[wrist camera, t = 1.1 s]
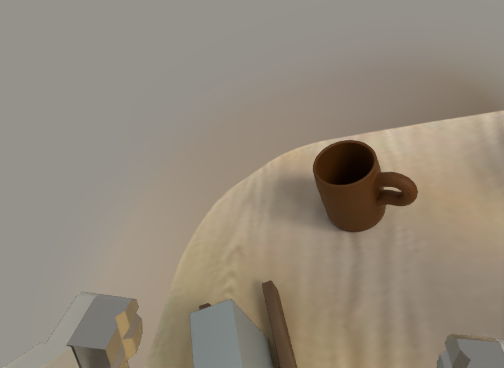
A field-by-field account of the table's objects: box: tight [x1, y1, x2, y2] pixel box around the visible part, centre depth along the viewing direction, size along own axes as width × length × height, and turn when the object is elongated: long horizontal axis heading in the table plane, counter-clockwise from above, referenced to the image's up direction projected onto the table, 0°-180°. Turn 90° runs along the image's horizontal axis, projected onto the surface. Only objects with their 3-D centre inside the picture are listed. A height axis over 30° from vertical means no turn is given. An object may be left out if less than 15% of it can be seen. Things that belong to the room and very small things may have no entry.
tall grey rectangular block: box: [190, 299, 274, 368], centre depth 40 cm, size 4×7×11 cm, turn 11°
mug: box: [313, 140, 418, 232], centre depth 48 cm, size 12×8×9 cm, turn 55°
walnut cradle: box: [199, 281, 297, 368], centre depth 43 cm, size 9×15×2 cm, turn 11°
